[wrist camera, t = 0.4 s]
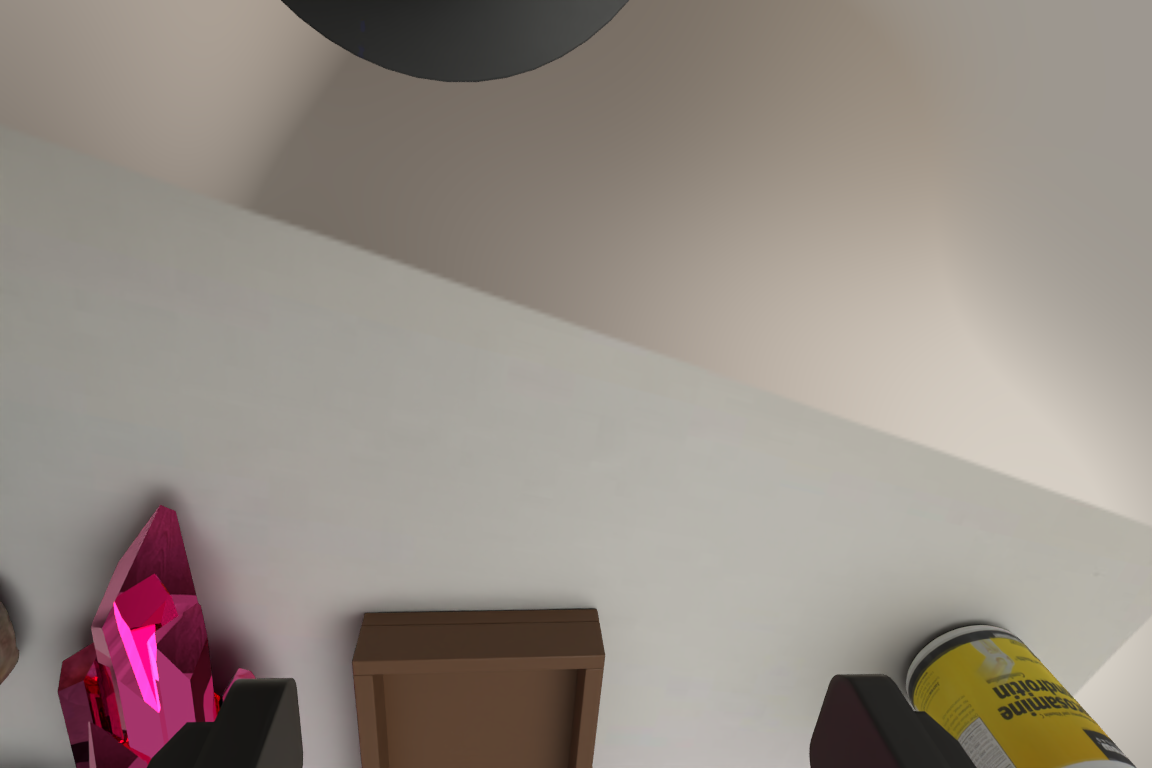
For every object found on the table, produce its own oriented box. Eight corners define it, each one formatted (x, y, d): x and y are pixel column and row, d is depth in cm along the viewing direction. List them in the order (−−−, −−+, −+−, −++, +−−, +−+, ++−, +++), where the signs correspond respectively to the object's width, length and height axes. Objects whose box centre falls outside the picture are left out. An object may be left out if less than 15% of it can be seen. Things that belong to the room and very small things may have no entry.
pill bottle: (1043, 645, 35) (1269, 886, 25) (955, 722, 37) (1130, 974, 27) (962, 600, 33) (1171, 841, 23) (874, 683, 35) (1029, 940, 25)
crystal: (80, 1006, 31) (-52, 580, 21) (131, 877, 36) (44, 482, 26) (273, 982, 33) (238, 578, 22) (296, 862, 38) (276, 486, 27)
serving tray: (364, 612, 30) (351, 661, 28) (597, 608, 31) (605, 655, 29) (383, 842, 37) (374, 898, 34) (573, 831, 38) (578, 885, 36)
